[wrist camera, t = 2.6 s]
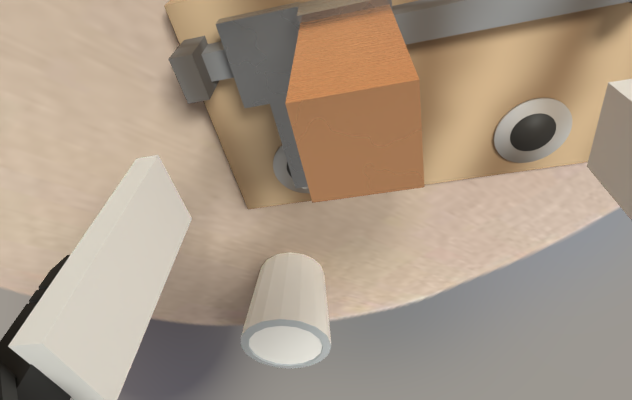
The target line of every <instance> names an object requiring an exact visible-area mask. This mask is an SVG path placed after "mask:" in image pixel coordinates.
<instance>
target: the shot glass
mask: <svg viewBox="0 0 632 400" xmlns="http://www.w3.org/2000/svg"><path fill="white" fill-rule="evenodd" d="M330 337H331V336H330V327H329V316H328V306H327V296H326V286H325V276H324V272H323V269H322V266H321V265H320V264H319V263H318V262H317V261H316V260H315V259H313V258H311V257H309V256H306V255H304V254H300V253H291V252H288V253H282V254H276V255H274V256H272V257H271V258H269V259H267V260H266V261H265V263H264V264H263V265H262V266H261V270H260V273H259V276H258V280H257V283H256V287H255V290H254V293H253V297H252V300H251V304H250V307H249V310H248V314H247V317H246V321H245V324H244V327H243V331H242V334H241V347H242V349H243V350H244V351H245V353H246V354H247V355H248V356H250V357H251V358H253V359H254V360H256V361H257V362H260V363H263V364H266V365H269V366H272V367H280V368H299V367H307V366H310V365H313V364H315V363H318V362H320V361H321V360H323V359H324V358H325V357H326V356H327V355H328V354H329V351H330V348H331V338H330Z"/></svg>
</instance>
